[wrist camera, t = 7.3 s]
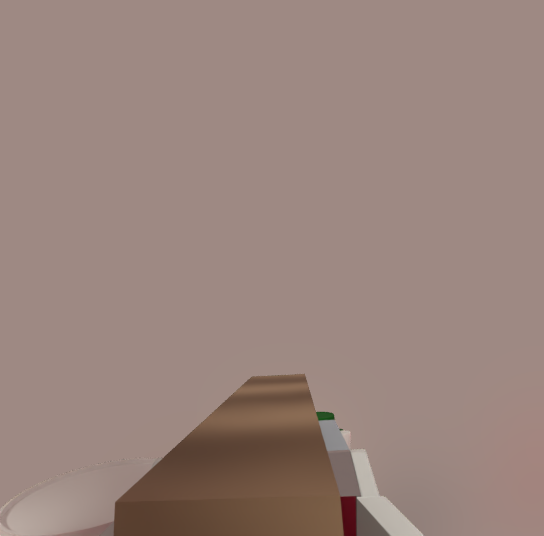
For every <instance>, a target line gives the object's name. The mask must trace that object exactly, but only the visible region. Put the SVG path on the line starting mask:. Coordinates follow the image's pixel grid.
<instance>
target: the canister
mask: <svg viewBox="0 0 544 536" xmlns="http://www.w3.org/2000/svg"><path fill="white" fill-rule="evenodd" d="M156 459H157V458H134V459H123V460H116V461H110V462H104V463H100V464H95V465H91V466H87V467H83V468H79V469H76V470H73V471H70V472H66V473H64V474H61V475H58V476H55V477H53V478H50V479H48V480H46V481H43V482H41V483H39V484H36V485H34V486H32V487H30V488H29V489H27V490H25V491H23V492H21V493H20V494H18V495H17V496H15V497H14V498H12V499H11V500H10V501H8V502H7V503H6V504H5V505H4V506H3V507H2V508H1V509H0V536H99V535H100V534H101V533H102V532H103V531H104V530H105V529H107V528H108V527H109V526H110V525H111V524H112V523H113V522H114V514H115V502H116V501H117V500H118V499H119V498H120V497H121V496H122V495H123V494H125V493H126V492H127V491H128V490H129V489H130V488H131V487H132V486H133V485H134V484H135V483H136V482H138V481H139V480H140V479H141V478H142V477H143V476H144V475H145V474H146V473H147V472H148V471H150V470H151V468H152V465H153V463H154V462H155V460H156Z"/></svg>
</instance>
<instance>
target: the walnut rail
mask: <svg viewBox="0 0 544 536" xmlns="http://www.w3.org/2000/svg"><path fill="white" fill-rule="evenodd" d="M114 536H344V533H343V522H342V511H341V500H340V493H339V490H338V486H337V483H336V480H335V476H334V473H333V469H332V466H331V462H330V459H329V456H328V452H327V449H326V445H325V442H324V438H323V435H322V432H321V428H320V425H319V421H318V418H317V414H316V411H315V408H314V404H313V401H312V398H311V394H310V390H309V387H308V384H307V380H306V377H305V374H295V375H277V376H276V375H275V376H256V377H251V378H250V379H249V380H248V381H247V382H245V383H244V384H243V385H242V386H241V387H240V388H239V389H238V390H237V391H236V392H235V393H233V394H232V395H231V396H230V397H229V398H228V399H227V400H226V401H225V402H224V403H223V404H222V405H220V406H219V407H218V408H217V409H216V410H215V411H214V412H213V413H212V414H211V415H209V416H208V417H207V418H206V419H205V420H204V421H203V422H202V423H201V424H200V425H199V426H198V427H196V428H195V429H194V430H193V431H192V432H191V433H190V434H189V435H188V436H187V437H186V438H185V439H184V440H182V441H181V442H180V443H179V444H178V445H177V446H176V447H175V448H174V449H172V450H171V451H170V452H169V453H168V454H167V455H166V456H165V457H164V458H163V459H162V460H160V461H159V462H158V463H157V464H156V465H155V466H154V467H153V468H152V469H151V470H150V471H148V472H147V473H146V474H145V475H144V476H143V477H142V478H141V479H140V480H139V481H138V482H136V483H135V484H134V485H133V486H132V487H131V488H130V489H129V490H128V491H127V492H126V493H125V494H123V495H122V496H121V497H120V498H119V499H118V500H117V501H116V502H115V514H114Z"/></svg>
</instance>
